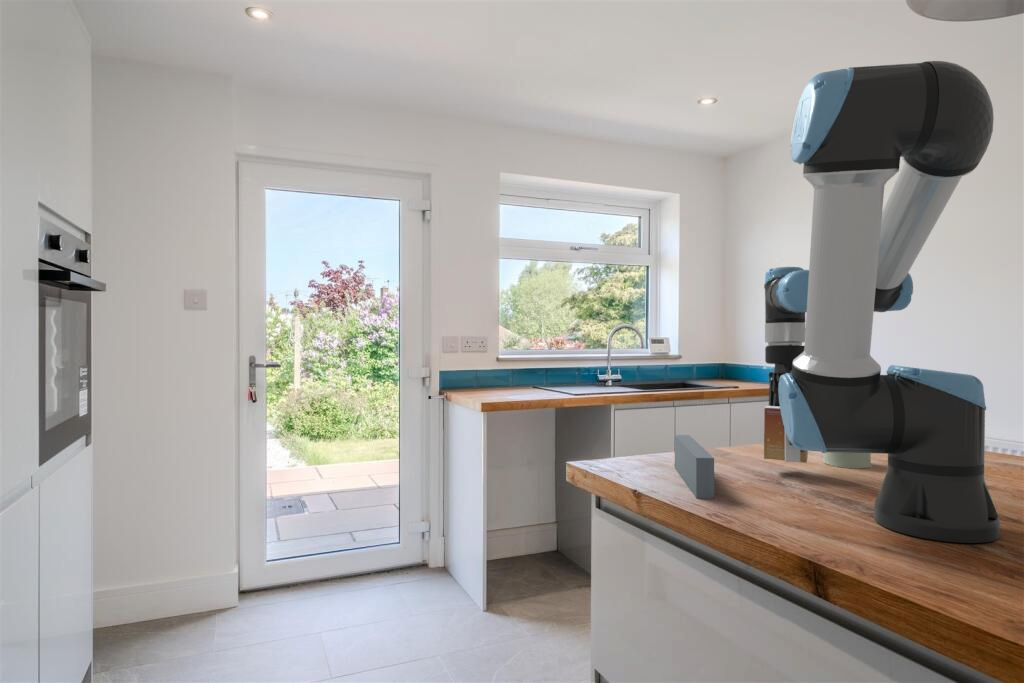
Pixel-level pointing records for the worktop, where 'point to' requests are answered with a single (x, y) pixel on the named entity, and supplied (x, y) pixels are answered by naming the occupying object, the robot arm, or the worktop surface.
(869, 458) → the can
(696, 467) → the wall
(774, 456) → the small box
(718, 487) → the worktop surface
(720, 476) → the worktop surface
